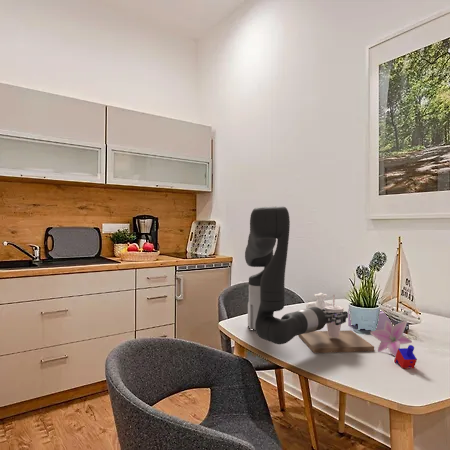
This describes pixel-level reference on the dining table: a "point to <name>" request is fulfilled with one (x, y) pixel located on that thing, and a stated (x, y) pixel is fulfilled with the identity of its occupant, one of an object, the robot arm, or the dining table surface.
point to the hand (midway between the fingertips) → (337, 312)
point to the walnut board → (335, 342)
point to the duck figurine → (319, 301)
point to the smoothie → (332, 328)
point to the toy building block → (406, 357)
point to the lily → (391, 337)
